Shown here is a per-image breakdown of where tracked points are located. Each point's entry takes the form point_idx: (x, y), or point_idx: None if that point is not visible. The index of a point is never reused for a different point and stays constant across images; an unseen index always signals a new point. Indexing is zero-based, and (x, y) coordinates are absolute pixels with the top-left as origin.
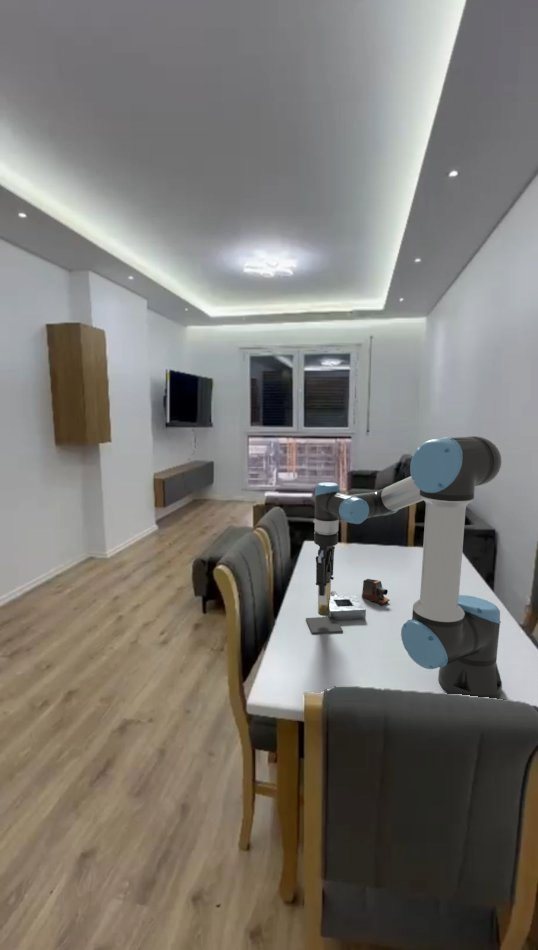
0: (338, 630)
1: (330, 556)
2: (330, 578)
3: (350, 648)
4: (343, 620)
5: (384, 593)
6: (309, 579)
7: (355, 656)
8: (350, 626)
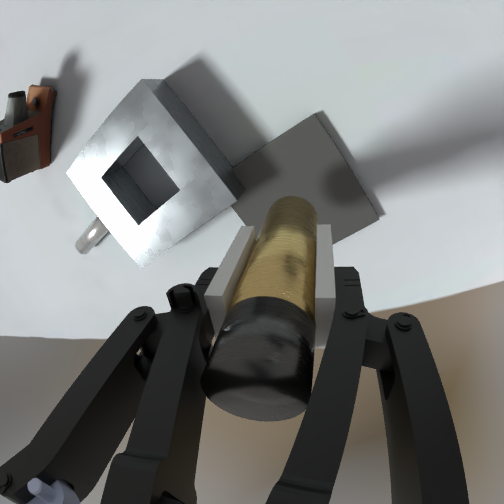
0: (321, 131)
1: None
2: (200, 308)
3: (416, 62)
4: (215, 145)
5: (22, 93)
6: (68, 317)
7: (453, 42)
8: (248, 103)
